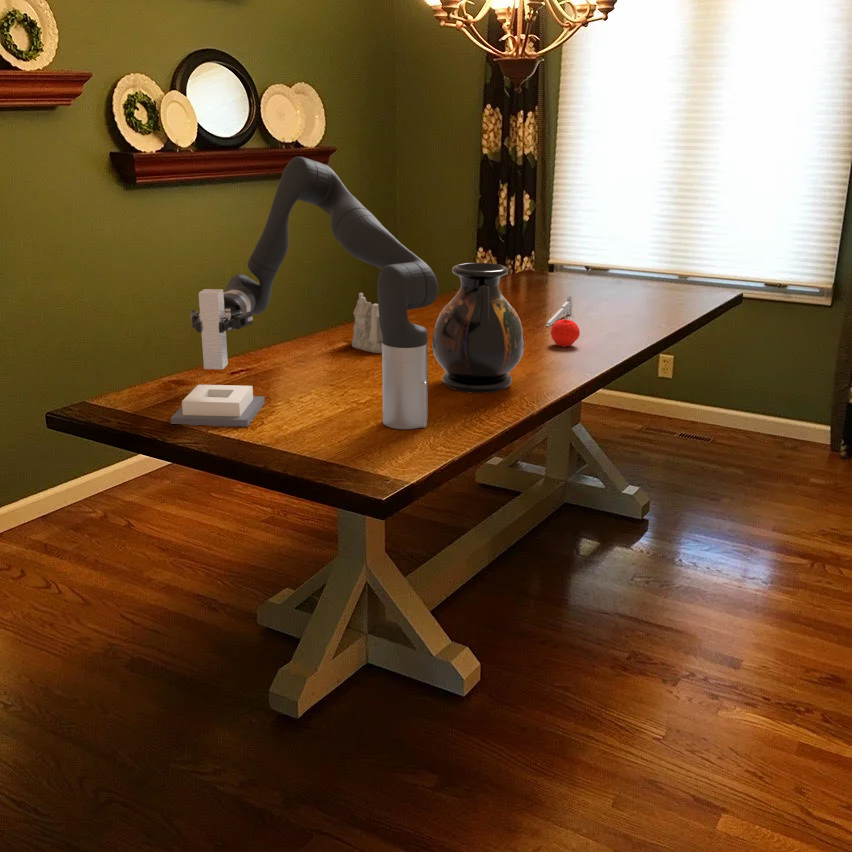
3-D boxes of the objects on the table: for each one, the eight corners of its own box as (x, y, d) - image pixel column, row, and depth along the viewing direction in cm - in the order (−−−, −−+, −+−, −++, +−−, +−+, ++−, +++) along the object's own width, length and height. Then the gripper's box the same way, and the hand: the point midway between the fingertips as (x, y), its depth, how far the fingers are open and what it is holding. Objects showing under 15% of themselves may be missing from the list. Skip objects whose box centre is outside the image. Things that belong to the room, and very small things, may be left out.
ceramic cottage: (376, 354, 246) (378, 297, 242) (340, 345, 258) (341, 290, 254) (422, 349, 256) (423, 294, 252) (385, 340, 268) (386, 287, 264)
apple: (584, 347, 256) (586, 320, 254) (563, 351, 252) (564, 324, 250) (565, 341, 263) (566, 315, 260) (543, 344, 258) (545, 318, 256)
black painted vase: (529, 397, 212) (535, 275, 203) (435, 399, 211) (436, 275, 202) (514, 371, 233) (519, 259, 223) (428, 372, 231) (429, 259, 222)
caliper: (568, 314, 296) (569, 295, 294) (571, 315, 296) (573, 295, 293) (545, 327, 279) (546, 306, 277) (548, 328, 279) (549, 307, 276)
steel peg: (227, 364, 198) (223, 289, 193) (222, 369, 195) (218, 293, 189) (209, 363, 199) (204, 289, 193) (204, 368, 195) (198, 293, 189)
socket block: (264, 402, 207) (263, 383, 206) (247, 426, 192) (246, 405, 190) (193, 401, 208) (191, 381, 206) (171, 424, 193) (169, 404, 191)
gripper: (197, 291, 206) (173, 309, 190) (261, 293, 205) (242, 310, 189) (200, 325, 209) (176, 344, 192) (263, 326, 208) (244, 346, 192)
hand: (209, 327), depth 191 cm, fingers closed on steel peg, 4 cm apart
